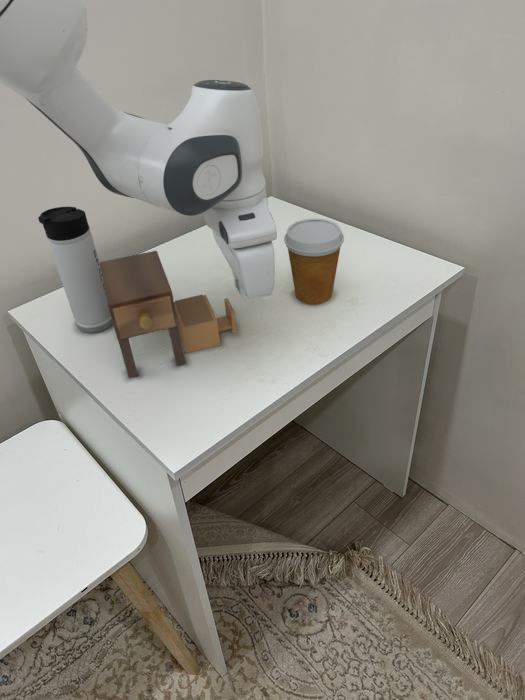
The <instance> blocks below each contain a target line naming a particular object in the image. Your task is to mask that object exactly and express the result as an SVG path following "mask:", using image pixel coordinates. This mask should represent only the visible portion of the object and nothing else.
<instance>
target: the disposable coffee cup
mask: <svg viewBox="0 0 525 700" xmlns="http://www.w3.org/2000/svg"><path fill="white" fill-rule="evenodd" d="M283 241H284V244H285V245H286V248H287V251H288V252H287V253H288V257H289V259H288V260H289V264H290V270H291V277H292V284H293V288H294V289H293V290H294V294H295V295H294V296H295V298H296V299H297V300H298V301H299V302H301V303H303V304H306V305H320V304H324V303H326V302H328V301H330V299H331V298H332V296H333V291H334V287H335V281H336V274H337V269H338V264H339V263H338V262H339V258H340V252H341V247H342V245H343V243H344V241H345V236H344V233H343V231H342V228H341V226H340V225H339V224H337V223H336V222H335V221H332V220H330V219H325V218H305V219H301V220H298V221H295V222H293V223H291V224H290V225H289V226H288V228H287V229H286V233H285V234H284V236H283Z"/></svg>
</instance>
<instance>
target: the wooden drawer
mask: <svg viewBox="0 0 525 700" xmlns="http://www.w3.org/2000/svg"><path fill="white" fill-rule="evenodd" d="M223 301H224V309H225V311H224V312H225V315H222V316H218V317H217V315H216V314H215V311H214V309H213V306H212V305H211V303H210V301H209V298H208V296H207V294H204V295H203V294H198V295H194V296H189V297H185V298H181V299H177V300H174V305H175V310H176V315H177V321H178V326H179V331H180V336H181V341H182V346H183V351H184V354H188V353H192V352H197V351H200V350H204V349H209V348H212V347H213V348H214V347H217V346H221V339H220V338H221V337H220V332H223V331H228V330H231V332H232V333H237V321H236V313H235V310H234V308H233V306H232V303H231V302H230V300H229V298H228V297H226V298H223Z"/></svg>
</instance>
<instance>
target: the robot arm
mask: <svg viewBox="0 0 525 700" xmlns="http://www.w3.org/2000/svg"><path fill="white" fill-rule="evenodd" d="M88 29H89V28H88V14H87V8H86V3H85V1H84V0H0V83H1V85H4V86H5V87H7V88H9V89H11V90H12V91H14V92H15V93H17V94H19V95H20V96H21V97H23V98H24V99H25V100H27V102H28V103H30V105H32V106H33V107H34V108H35V109H36V110H38V112H39V113H40V114H42V115H43V116H44V117H45V118H46V119H47V120H48V121H50V123H52V124H53V125H54V126H55V127H56V128H57V129H58V130H60V131H61V132H62V133H63V134H64V135H65V136H66V137H67V138H69V139H70V140H71V142H73V143H74V144H75V145H76V147H78V149H79V150H80V151H81V152H82V154H83V155H84V157H85V158H86V161H87V162H88V165H89V166H90V168H91V170H92V172H93V174H94V175H95V178H97V180H98V181H99V183H100V184H101V185H102V186H103V187H104V188H105V189H107V190H108V191H109V192H111V193H113V194H115V195H120V196H123V197H126V198H131V199H135V200H138V201H141V202H143V203H147V204H149V205H151V206H155V207H158V208H160V209H164V210H166V211H169V212H172V213H175V214H178V215H184V216H188V217H192V216H193V217H194V216H197V215H201V214H203V218H204V223H205V225H206V226H207V227H208V228H209V229H211V230H212V235H213V238H214V241H215V243H216V244H217V246H218V249H219V250H220V252H221V253H222V255H223V257H224V258H225V260H226V262H227V264H228V265H229V268H230V269H231V271H232V275H233V278H234V286H235V288H236V290H237V291H238V293H239V295H240V297H241V298H245V297H246V298H247V299H248V300H256V299H261V298H265V297H268V296H270V295H272V294H273V292H274V289H275V274H276V273H275V271H276V270H275V269H276V268H275V267H276V266H275V263H276V261H275V249H274V244H273V241H276V240H277V238H278V231H277V226H276V223H275V221H274V218H273V216H272V213H271V211H270V207H269V200H268V198H267V197H268V196H267V182H266V178H265V175H264V172H263V167H262V166H263V159H264V153H265V150H264V149H265V148H264V147H265V146H264V134H263V125H262V118H261V111H260V107H259V103H258V99H257V96H256V94H255V92H254V89H253V88H252V87H250V86H248V84H245V83H243V82H237V81H234V80H233V81H232V80H220V79H206V80H205V79H204V80H200V81H198V82H195V83H194V84H192V86H191V91H190V92H191V93H190V96H189V97H190V98H189V100H188V101H187V103H186V105H185V107H184V109H183V110H182V111H181V112H180V113H179V115H178V116H177V117H176V118H175V119H174V120H172V122H170V123H169V124H168V123H162V122H158V121H154V120H150V119H146V118H144V117H143V116H138V115H135V114H133V113H129V112H125V111H122V110H120V109H118V108H117V107H115V106H114V105H113V104H112V103H111V102H110V101H109V100H108V98H107V97H106V96H105V95H104V94H103V93H102V91H100V90H99V89H98V88H97V86H96V85H94V84H93V82H92V81H91V80H90V79H89V78H88V77H87V76H86V74H85V73H84V72H83V71H82V70H81V69H80V68H79V66H78V63H79V61H80V59H81V58H82V57H83V56H82V55H83V53H84V51H85V48H86V43H87V39H88Z"/></svg>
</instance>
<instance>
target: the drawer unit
mask: <svg viewBox="0 0 525 700" xmlns="http://www.w3.org/2000/svg"><path fill="white" fill-rule="evenodd" d="M99 262H100V267H101V272H102V278H103V283H104V288H105V293H106V298H107V304H108V308H109V311H110V314H111V318H112V321H113V324H112V326H113V327H114V328H113V329H114V332H115V334H116V338H117V343H118V345H119V349H120V353H121V356H122V360H123V363H124V366H125V370H126V373H127V378H128V379H132V378H137V377H139V372H138V369H137V368H138V367H137V365H136V360H135V358H134V354H133V350H132V346H131V343H130V342H131V341H130V339H131V338H135V337H140V336H144V335H147V334H151V333H158V332H160V331H165V330H168V334H169V339H170V344H171V348H172V354H173V360H174V362H175V363H174V364H175V366H176V367H180V366H184V365H186V364H187V363H186V358H185V351H184V347H183V344H182V341H181V336H180V331H179V326H178V321H177V315H176V310H175V305H174V302H175V300H174V296H173V295H174V294H173V290H172V287H171V285H170V283H169V280H168V277H167V274H166V271H165V269H164V266H163V264H162V261H161V258H160V256H159V253H158V250H151V251H147V252H143V253H138V254H132V255H128V256H123V257H119V258H113V259H108V260H104V261H103V260H102V261H99Z"/></svg>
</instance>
